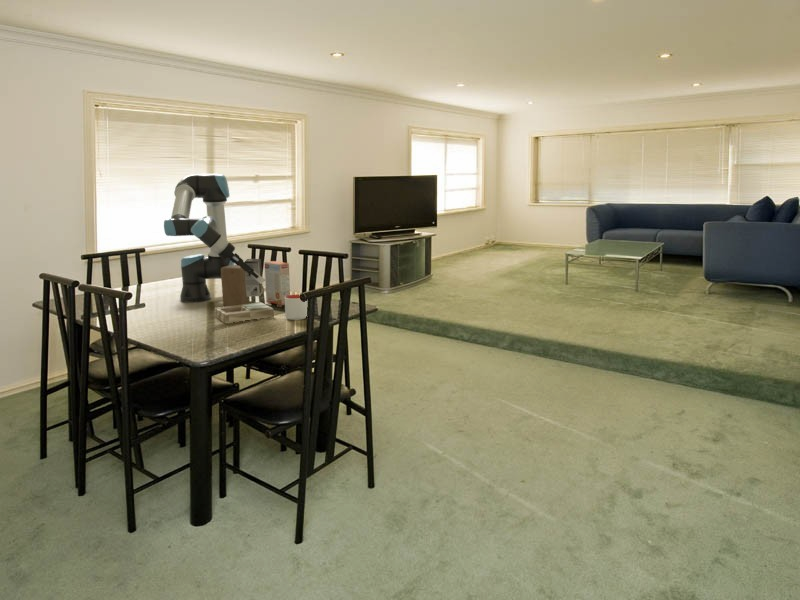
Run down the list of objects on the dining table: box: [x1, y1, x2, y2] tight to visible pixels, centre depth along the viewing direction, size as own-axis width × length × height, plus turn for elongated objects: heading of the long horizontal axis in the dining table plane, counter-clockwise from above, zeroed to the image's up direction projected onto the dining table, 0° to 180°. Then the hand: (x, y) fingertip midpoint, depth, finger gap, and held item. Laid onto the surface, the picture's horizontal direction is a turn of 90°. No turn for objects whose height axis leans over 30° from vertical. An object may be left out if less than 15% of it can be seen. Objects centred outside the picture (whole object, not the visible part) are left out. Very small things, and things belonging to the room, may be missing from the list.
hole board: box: [214, 301, 275, 324], centre depth 268 cm, size 17×22×4 cm
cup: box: [284, 293, 308, 321], centre depth 264 cm, size 10×10×10 cm
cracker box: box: [264, 260, 291, 306], centre depth 295 cm, size 14×6×21 cm, turn 45°
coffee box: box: [244, 258, 264, 298], centre depth 267 cm, size 9×6×16 cm
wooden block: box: [220, 264, 251, 307], centre depth 289 cm, size 10×10×20 cm
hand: (260, 280), depth 269 cm, fingers closed on coffee box, 10 cm apart
